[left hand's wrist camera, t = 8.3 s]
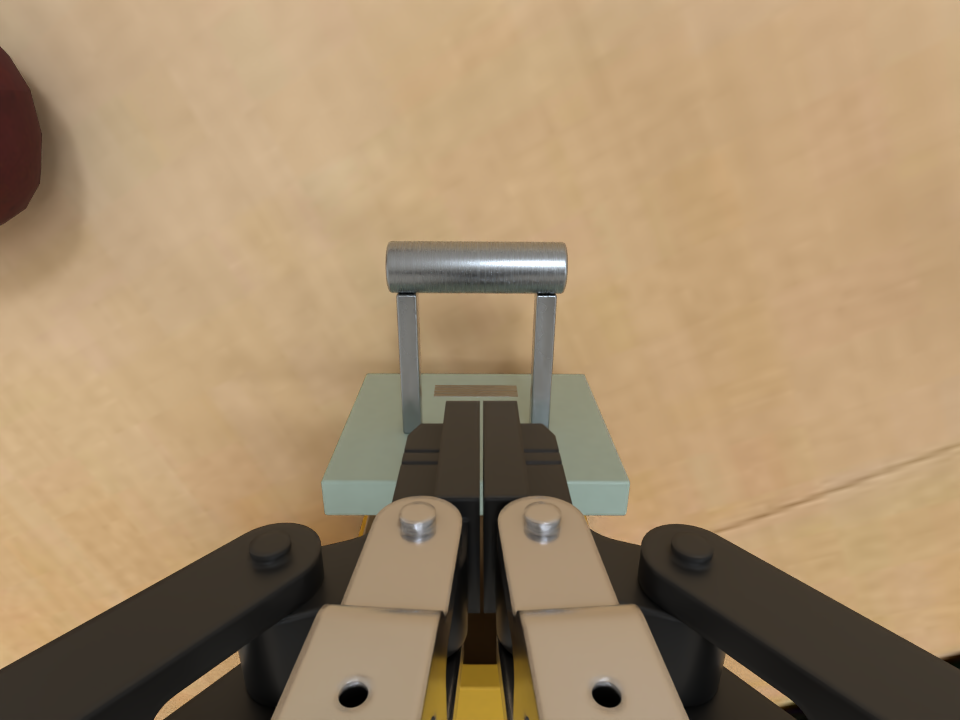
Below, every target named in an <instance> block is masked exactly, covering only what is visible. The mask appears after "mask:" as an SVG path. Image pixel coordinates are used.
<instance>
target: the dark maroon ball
mask: <svg viewBox="0 0 960 720" xmlns="http://www.w3.org/2000/svg"><path fill="white" fill-rule="evenodd" d="M41 143H42V133H41V129H40V126H39V122H38V118H37V114H36V110H35V107H34V103H33V99H32V95H31V91H30V89H29V87H28V86H27V84H26V82H25V81H24V79H23V78H22V76H21V74H20V73H19V71H18V69H17V68H16V66H15V64H14V63H13V61H12V60H11V58H10V56H9V55H8V54H7V53H6V52H5V51H4V50H3V49H2V48H1V47H0V225H2V224H4V223H6V222H7V221H8V220H10V219H11V218H13V217H14V216H16V215H17V214H19V213H20V212H21V211H23V210H24V209H26V207H27V205H28V204H29V202H30V200H31V198H32V196H33V195H34V193H35V191H36V189H37V187H38V186H39V184H40V174H41Z"/></svg>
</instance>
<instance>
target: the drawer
mask: <svg viewBox="0 0 960 720" xmlns="http://www.w3.org/2000/svg"><path fill="white" fill-rule="evenodd" d="M567 273H568V255H567V248H566V245H565V243H563V242H432V241H391V242H389V243H388V246H387V250H386V280H387V286H388V289H389V291H390V292H392V293H398V294H397V296H396V300H397V320H398V340H399V360H400V374H367V375H366V377H365V379H364V382H363V384H362V387H361V389H360V391H359V394H358V396H357V398H356V401H355V403H354V405H353V408H352V410H351V413H350V415H349V417H348V420H347V422H346V424H345V427H344V429H343V432H342V434H341V436H340V439H339V441H338V443H337V446H336V448H335V450H334V453H333V455H332V458H331V460H330V462H329V465H328V467H327V469H326V472H325V474H324V476H323V479H322V481H321V485H322V494H323V503H324V511H325V514H326V515H368V518H367V521H366V525H365V529H364V533H363V535H364V534H367V533H369V531H370V529H371V526H372V524H373V521H374V519H375V517H376V515H377V514H378V513H379V511H380V510H381V509H383V508H384V507H385V506H387V505H388V504H390V503H392V500H393V495H394V491H395V487H396V483H397V479H398V474H399V470H400V466H401V464H402V458H403V453H404V449H405V445H406V441H407V436H408V435H409V434H410V433H411V432H412V431H413V430H414V429H415V428H416V427H417V426H418V425H420V424H421V423H443V420H444V412H445V404H446V401H480V613H468V630H467V636H466V638H465V641H464V658H463V664H497V658H496V613H484V572H483V401H517V404H518V411H519V418H520V423H543V424H544V425H545V426H546V427H547V428H548V429H549V430H550V431H551V432H552V433H553V434H554V435H555V436H556V440H557V444H558V448H559V453H560V456H561V460H562V464H563V468H564V472H565V476H566V480H567V484H568V488H569V492H570V496H571V500H572V504H573V506H575V507H576V508H577V509H579V510H580V511H581V513H582V514H583V515H625V514H626V512H627V504H628V496H629V488H630V481H629V479H628V476H627V474H626V472H625V469H624V467H623V465H622V462H621V460H620V457H619V455H618V453H617V450H616V448H615V446H614V443H613V441H612V439H611V436H610V434H609V431H608V429H607V427H606V424H605V422H604V420H603V417H602V415H601V413H600V410H599V408H598V406H597V403H596V401H595V398H594V396H593V394H592V391H591V389H590V387H589V384H588V382H587V380H586V377H585V375H583V374H552V369H553V353H554V336H555V319H556V303H557V296H556V294H561V293H563V292H564V290H565V287H566V283H567ZM418 293H535V300H534V322H533V345H532V367H531V374H421V357H420V328H419V300H418Z"/></svg>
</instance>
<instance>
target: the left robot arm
mask: <svg viewBox="0 0 960 720" xmlns="http://www.w3.org/2000/svg"><path fill="white" fill-rule="evenodd" d="M483 572H484V613H496V658H497V667H498V675H499V683H500V692H501V700H502V708H503V717H504V720H796V719H795V718H794V717H792V716H791V715H790V714H788V713H787V712H785V711H784V710H783V709H781V708H780V707H779V706H777V705H776V704H774V703H773V702H772V701H770V700H769V699H768V698H766V697H765V696H764V695H762V694H761V693H759V692H758V691H757V690H755V689H754V688H753V687H751V686H750V685H748V684H747V683H746V682H744V681H743V680H742V679H740V678H739V677H738V676H736V675H735V674H733V673H732V672H731V671H729V670H728V669H727V668H725V667H724V666H723V664H724V659H725V654H728V655H729V656H730V657H732V658H733V659H735V660H736V661H737V662H739V663H740V664H742V665H743V666H744V667H746V668H747V669H749V670H750V671H752V672H753V673H754V674H756V675H757V676H759V677H760V678H761V679H763V680H764V681H766V682H767V683H768V684H770V685H771V686H773V687H774V688H775V689H777V690H778V691H780V692H781V693H782V694H784V695H785V696H787V697H788V698H789V699H791V700H792V701H793V702H794V703H795V704H796V705H797V706H799V708H800V709H801V710H802V711H803V712H804V714H805V715H806V716H807V718H808V720H960V670H959V669H958V668H956V667H954V666H952V665H950V664H949V663H947V662H945V661H943V660H941V659H940V658H938V657H936V656H934V655H932V654H931V653H929V652H927V651H925V650H923V649H922V648H920V647H918V646H916V645H914V644H913V643H911V642H909V641H907V640H905V639H904V638H902V637H900V636H898V635H896V634H895V633H893V632H891V631H889V630H887V629H886V628H884V627H882V626H880V625H878V624H877V623H875V622H873V621H871V620H869V619H868V618H866V617H864V616H862V615H860V614H859V613H857V612H855V611H853V610H851V609H850V608H848V607H846V606H844V605H842V604H841V603H839V602H837V601H835V600H833V599H832V598H830V597H828V596H826V595H824V594H823V593H821V592H819V591H817V590H815V589H814V588H812V587H810V586H808V585H806V584H805V583H803V582H801V581H799V580H797V579H796V578H794V577H792V576H790V575H788V574H787V573H785V572H783V571H781V570H779V569H778V568H776V567H774V566H772V565H770V564H769V563H767V562H765V561H763V560H761V559H760V558H758V557H756V556H754V555H752V554H751V553H749V552H747V551H745V550H743V549H742V548H740V547H738V546H736V545H734V544H733V543H731V542H729V541H727V540H725V539H724V538H722V537H720V536H718V535H716V534H714V533H712V532H710V531H708V530H705V529H702V528H699V527H695V526H690V525H684V524H668V525H662V526H659V527H656V528H654V529H652V530H650V531H649V532H648V533H647V534H646V535H645V536H644V538H643V540H642V544H641V546H640V545H635V544H631V543H626V542H622V541H618V540H614V539H610V538H607V537H605V536H602V535H600V534H598V533H596V532H594V531H593V530H591V529H589V526H588V524H587V521H586V519H585V517H584V515H583V514H582V513H581V511H580V510H579V509H577V508H576V507H575V506H573V504H572V500H571V496H570V492H569V488H568V484H567V480H566V476H565V472H564V468H563V464H562V460H561V456H560V453H559V448H558V444H557V440H556V436H555V435H554V434H553V433H552V432H551V431H550V430H549V429H548V428H547V427H546V426H545V425H544V424H543V423H520V418H519V411H518V404H517V401H483ZM468 613H480V401H446V404H445V412H444V420H443V423H421V424H420V425H418V426H417V427H416V428H415V429H414V430H413V431H412V432H411V433H410V434H409V435H408V436H407V441H406V445H405V449H404V453H403V458H402V464H401V466H400V470H399V474H398V479H397V483H396V487H395V491H394V495H393V500H392V503H390V504H388V505H387V506H385V507H384V508H383V509H381V510H380V511H379V513H378V514H377V515H376V517H375V519H374V521H373V524H372V526H371V529H370V531H369V533H367V534H364V535H362V536H360V537H357V538H355V539H351V540H347V541H343V542H339V543H334V544H330V545H325V546H321V541H320V539H319V536H318V535H317V534H316V532H315V531H313V530H312V529H311V528H309V527H307V526H304V525H300V524H295V523H276V524H271V525H266V526H263V527H259V528H257V529H254V530H252V531H250V532H247V533H245V534H244V535H242V536H240V537H238V538H236V539H235V540H233V541H231V542H229V543H227V544H226V545H224V546H222V547H220V548H218V549H217V550H215V551H213V552H211V553H209V554H208V555H206V556H204V557H202V558H200V559H199V560H197V561H195V562H193V563H191V564H190V565H188V566H186V567H184V568H182V569H181V570H179V571H177V572H175V573H173V574H172V575H170V576H168V577H166V578H164V579H163V580H161V581H159V582H157V583H155V584H154V585H152V586H150V587H148V588H146V589H145V590H143V591H141V592H139V593H137V594H136V595H134V596H132V597H130V598H128V599H127V600H125V601H123V602H121V603H119V604H118V605H116V606H114V607H112V608H110V609H109V610H107V611H105V612H103V613H101V614H100V615H98V616H96V617H94V618H92V619H91V620H89V621H87V622H85V623H83V624H82V625H80V626H78V627H76V628H74V629H73V630H71V631H69V632H67V633H65V634H64V635H62V636H60V637H58V638H56V639H55V640H53V641H51V642H49V643H47V644H46V645H44V646H42V647H40V648H38V649H37V650H35V651H33V652H31V653H29V654H28V655H26V656H24V657H22V658H20V659H19V660H17V661H15V662H13V663H11V664H10V665H8V666H6V667H4V668H2V669H1V670H0V720H154V718H155V716H156V715H157V713H158V712H159V710H160V709H161V708H162V707H163V706H164V705H165V704H166V703H167V702H168V701H169V700H170V699H171V698H172V697H173V696H175V695H176V694H178V693H179V692H180V691H182V690H183V689H185V688H186V687H187V686H189V685H190V684H192V683H193V682H194V681H196V680H197V679H199V678H200V677H201V676H203V675H204V674H206V673H207V672H209V671H210V670H211V669H213V668H214V667H216V666H217V665H218V664H220V663H221V662H223V661H224V660H225V659H227V658H228V657H230V656H231V655H232V654H234V653H235V652H237V651H238V652H239V657H240V662H241V663H240V664H239V665H238V666H236V667H235V668H233V669H232V670H231V671H229V672H228V673H227V674H225V675H224V676H223V677H221V678H220V679H218V680H217V681H216V682H214V683H213V684H212V685H210V686H209V687H207V688H206V689H205V690H203V691H202V692H201V693H199V694H198V695H196V696H195V697H194V698H192V699H191V700H190V701H188V702H187V703H186V704H184V705H183V706H181V707H180V708H179V709H177V710H176V711H175V712H173V713H172V714H170V715H169V716H168V717H166V718H165V719H164V720H456V717H457V708H458V700H459V692H460V683H461V675H462V667H463V658H464V641H465V638H466V636H467V630H468Z"/></svg>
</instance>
